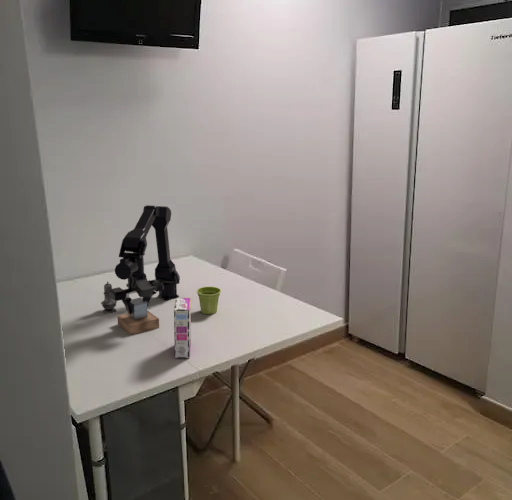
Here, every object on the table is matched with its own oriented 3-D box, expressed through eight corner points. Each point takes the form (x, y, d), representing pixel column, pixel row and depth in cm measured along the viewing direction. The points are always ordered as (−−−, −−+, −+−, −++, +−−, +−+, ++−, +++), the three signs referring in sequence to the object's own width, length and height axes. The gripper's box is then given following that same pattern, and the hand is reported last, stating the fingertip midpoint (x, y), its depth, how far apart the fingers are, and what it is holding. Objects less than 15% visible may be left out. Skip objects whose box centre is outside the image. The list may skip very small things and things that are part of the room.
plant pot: (225, 309, 204) (225, 288, 202) (213, 317, 196) (213, 296, 194) (204, 305, 208) (204, 285, 206) (192, 313, 200) (191, 292, 197)
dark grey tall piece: (113, 314, 198) (111, 284, 195) (98, 313, 199) (96, 283, 196) (120, 308, 203) (118, 279, 200) (106, 307, 205) (104, 278, 201)
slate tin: (141, 312, 190) (140, 297, 189) (148, 317, 186) (147, 301, 185) (128, 316, 187) (127, 300, 186) (134, 320, 183) (133, 304, 182)
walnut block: (146, 319, 195) (145, 309, 194) (159, 328, 187) (158, 318, 186) (117, 325, 189) (117, 315, 188) (130, 336, 180) (129, 325, 179)
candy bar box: (190, 358, 164) (189, 309, 159) (174, 359, 163) (173, 310, 159) (191, 343, 175) (190, 297, 170) (176, 343, 174) (175, 297, 170)
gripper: (120, 281, 170) (123, 326, 175) (170, 271, 182) (172, 313, 186) (106, 273, 179) (109, 315, 183) (155, 264, 190) (156, 304, 194)
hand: (137, 312), depth 186 cm, fingers open, 6 cm apart
